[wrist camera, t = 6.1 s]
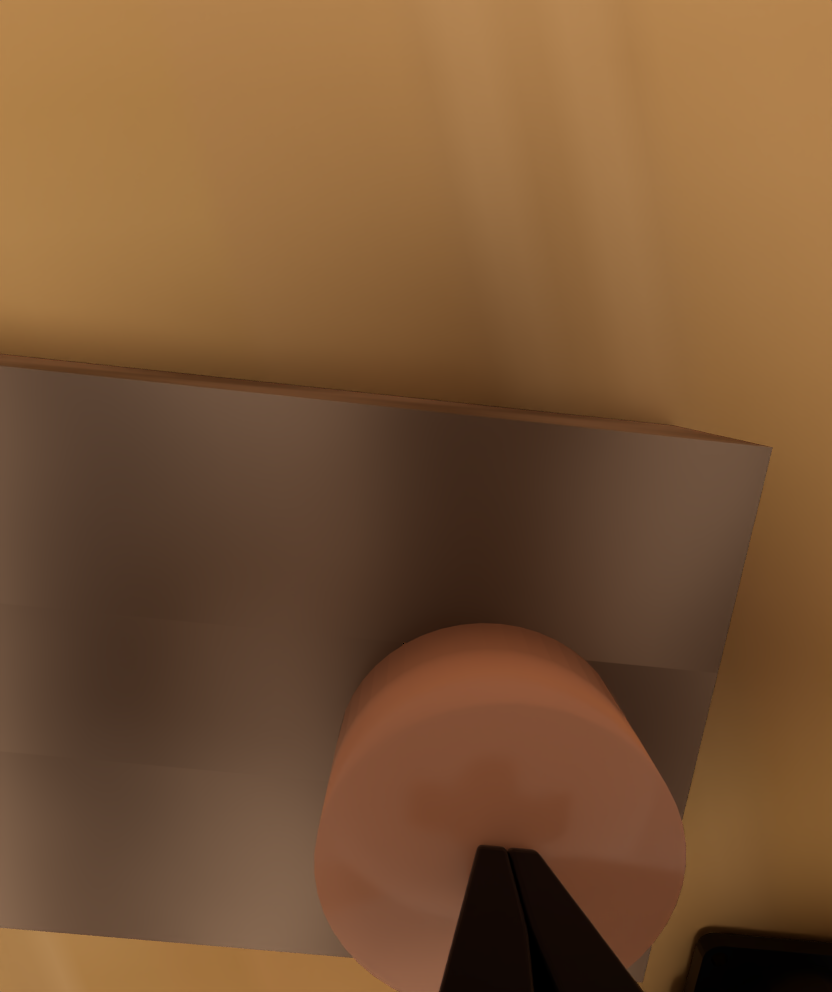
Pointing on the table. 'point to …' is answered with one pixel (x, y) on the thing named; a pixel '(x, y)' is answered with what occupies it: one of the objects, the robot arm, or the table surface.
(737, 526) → the press block
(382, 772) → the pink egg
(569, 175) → the table surface
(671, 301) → the table surface
